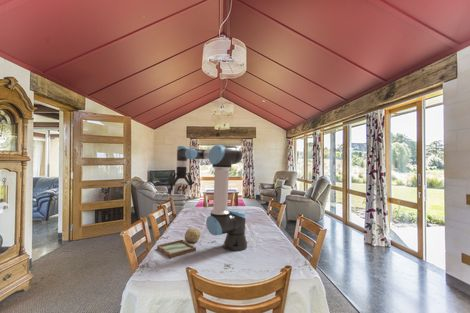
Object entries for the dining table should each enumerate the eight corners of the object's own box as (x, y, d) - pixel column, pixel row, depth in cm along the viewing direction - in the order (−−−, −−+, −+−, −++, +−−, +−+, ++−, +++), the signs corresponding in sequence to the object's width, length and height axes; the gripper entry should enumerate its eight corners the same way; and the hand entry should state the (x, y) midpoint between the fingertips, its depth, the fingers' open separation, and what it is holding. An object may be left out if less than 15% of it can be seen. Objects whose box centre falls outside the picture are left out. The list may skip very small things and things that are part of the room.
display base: (196, 251, 144) (196, 247, 144) (170, 258, 133) (170, 254, 133) (181, 242, 157) (182, 239, 157) (157, 248, 145) (157, 245, 145)
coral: (189, 228, 167) (200, 224, 163) (192, 242, 164) (204, 239, 160) (180, 230, 159) (191, 226, 155) (183, 245, 156) (195, 242, 152)
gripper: (193, 166, 193) (192, 192, 193) (164, 166, 176) (163, 194, 176) (198, 166, 187) (197, 193, 187) (168, 166, 171) (167, 196, 171)
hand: (180, 194), depth 182 cm, fingers open, 13 cm apart
